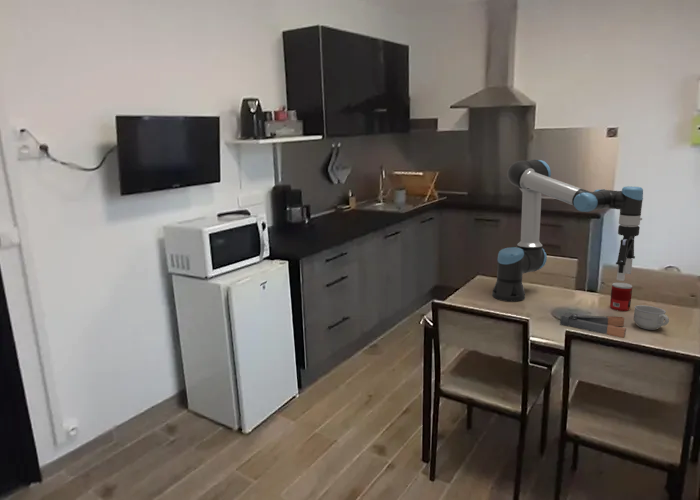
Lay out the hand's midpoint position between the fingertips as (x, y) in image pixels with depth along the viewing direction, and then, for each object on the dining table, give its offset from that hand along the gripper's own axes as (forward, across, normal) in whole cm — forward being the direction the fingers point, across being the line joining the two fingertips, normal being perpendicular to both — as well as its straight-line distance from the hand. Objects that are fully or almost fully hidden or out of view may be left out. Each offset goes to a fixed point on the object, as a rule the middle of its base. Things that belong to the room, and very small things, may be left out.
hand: (623, 276), depth 209 cm
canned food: (+19, +15, +3) cm, 24 cm away
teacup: (+19, -4, -12) cm, 23 cm away
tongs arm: (+18, -13, +6) cm, 23 cm away
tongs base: (+18, -18, +6) cm, 27 cm away
